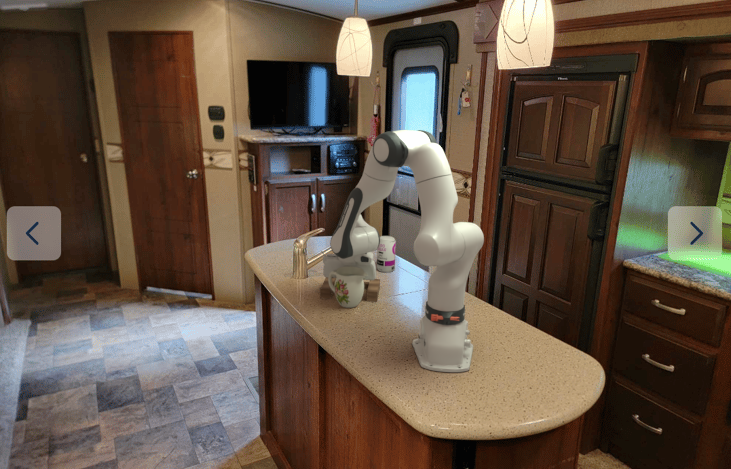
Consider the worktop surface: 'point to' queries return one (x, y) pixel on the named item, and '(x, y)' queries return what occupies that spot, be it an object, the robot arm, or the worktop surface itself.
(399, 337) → the worktop surface
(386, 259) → the supplement can
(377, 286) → the holder
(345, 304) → the pitcher
